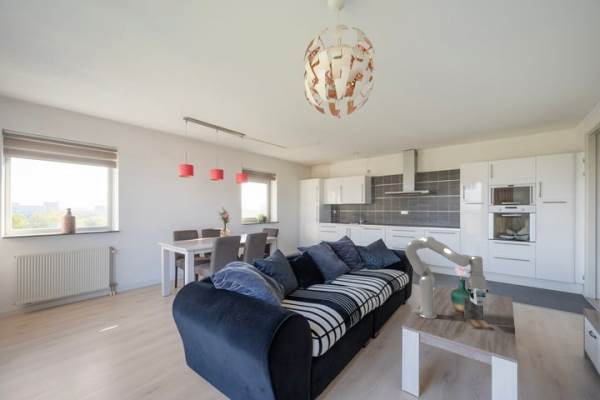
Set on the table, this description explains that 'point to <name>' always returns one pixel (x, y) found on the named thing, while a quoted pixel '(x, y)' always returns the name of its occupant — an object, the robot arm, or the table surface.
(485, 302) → the light bulb box
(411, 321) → the table surface
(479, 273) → the robot arm
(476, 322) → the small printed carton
